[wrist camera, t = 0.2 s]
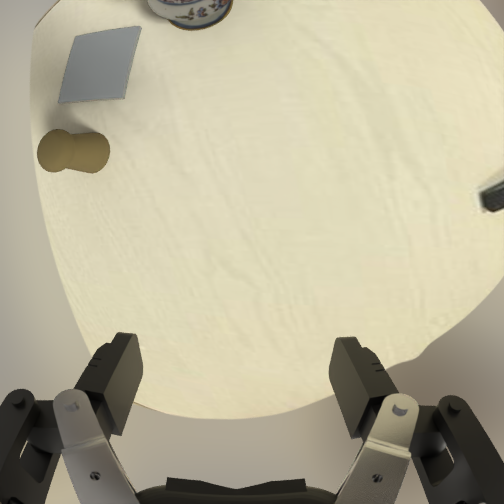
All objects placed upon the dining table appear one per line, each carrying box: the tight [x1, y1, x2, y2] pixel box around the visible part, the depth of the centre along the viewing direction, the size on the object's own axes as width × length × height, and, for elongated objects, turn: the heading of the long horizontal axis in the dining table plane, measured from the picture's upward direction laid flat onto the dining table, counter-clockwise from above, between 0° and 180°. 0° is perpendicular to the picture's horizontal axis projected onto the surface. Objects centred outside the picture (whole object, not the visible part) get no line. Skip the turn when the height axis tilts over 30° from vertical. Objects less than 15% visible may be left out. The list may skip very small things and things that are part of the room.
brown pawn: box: [37, 129, 110, 173], centre depth 31 cm, size 6×6×11 cm
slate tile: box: [58, 26, 142, 104], centre depth 32 cm, size 12×12×1 cm
